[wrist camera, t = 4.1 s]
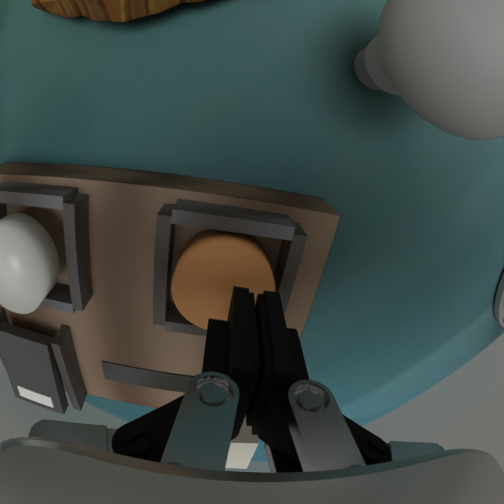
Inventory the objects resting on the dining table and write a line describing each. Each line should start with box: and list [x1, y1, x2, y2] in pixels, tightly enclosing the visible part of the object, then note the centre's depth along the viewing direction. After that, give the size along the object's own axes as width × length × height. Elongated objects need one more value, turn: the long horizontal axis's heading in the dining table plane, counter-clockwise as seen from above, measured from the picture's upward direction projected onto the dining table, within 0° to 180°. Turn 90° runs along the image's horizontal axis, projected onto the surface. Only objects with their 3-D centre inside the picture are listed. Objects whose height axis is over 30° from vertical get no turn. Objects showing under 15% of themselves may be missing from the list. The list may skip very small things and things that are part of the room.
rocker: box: [0, 322, 68, 414], centre depth 15 cm, size 4×6×1 cm
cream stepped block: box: [225, 415, 259, 469], centre depth 16 cm, size 3×4×5 cm
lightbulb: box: [354, 0, 504, 140], centre depth 9 cm, size 6×6×11 cm
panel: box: [0, 162, 340, 411], centre depth 16 cm, size 20×16×5 cm
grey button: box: [0, 213, 60, 314], centre depth 11 cm, size 4×4×2 cm
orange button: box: [171, 229, 275, 330], centre depth 14 cm, size 4×4×2 cm
